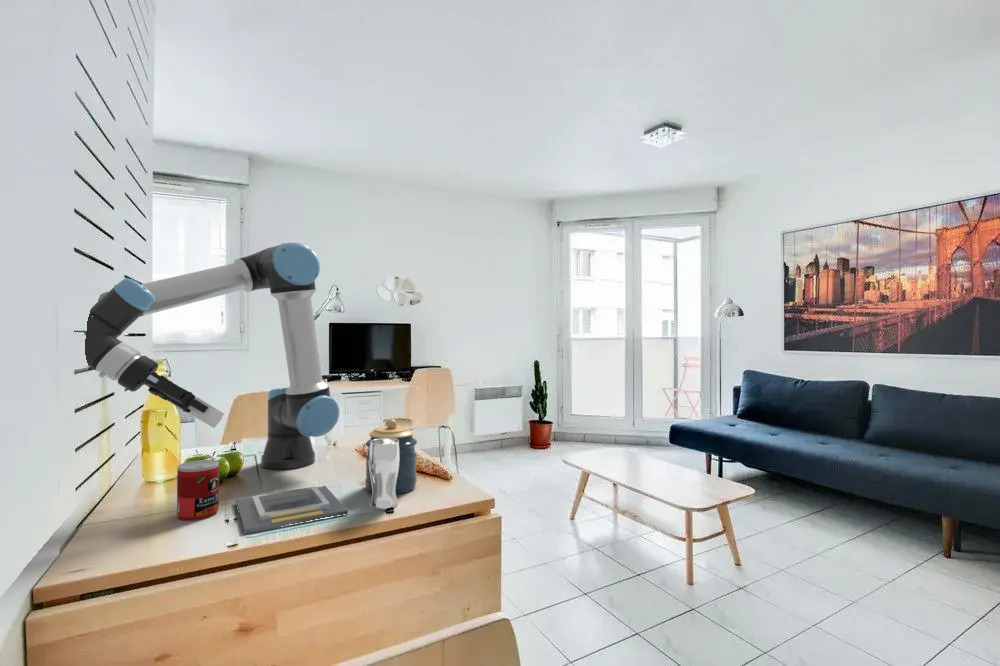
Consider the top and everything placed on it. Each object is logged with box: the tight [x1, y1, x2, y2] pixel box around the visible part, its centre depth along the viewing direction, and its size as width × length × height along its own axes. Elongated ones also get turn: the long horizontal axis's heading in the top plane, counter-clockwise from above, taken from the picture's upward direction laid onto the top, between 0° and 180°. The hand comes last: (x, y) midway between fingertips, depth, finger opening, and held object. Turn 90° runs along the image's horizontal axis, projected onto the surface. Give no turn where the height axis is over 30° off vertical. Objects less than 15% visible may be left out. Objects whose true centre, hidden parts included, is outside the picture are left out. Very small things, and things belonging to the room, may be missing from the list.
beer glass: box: [369, 438, 400, 511], centre depth 113 cm, size 7×7×15 cm
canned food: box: [176, 459, 220, 522], centre depth 106 cm, size 8×8×11 cm
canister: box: [364, 418, 418, 495], centre depth 126 cm, size 13×13×18 cm
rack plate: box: [235, 485, 349, 535], centre depth 110 cm, size 20×20×2 cm
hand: (219, 421), depth 112 cm, fingers open, 13 cm apart
